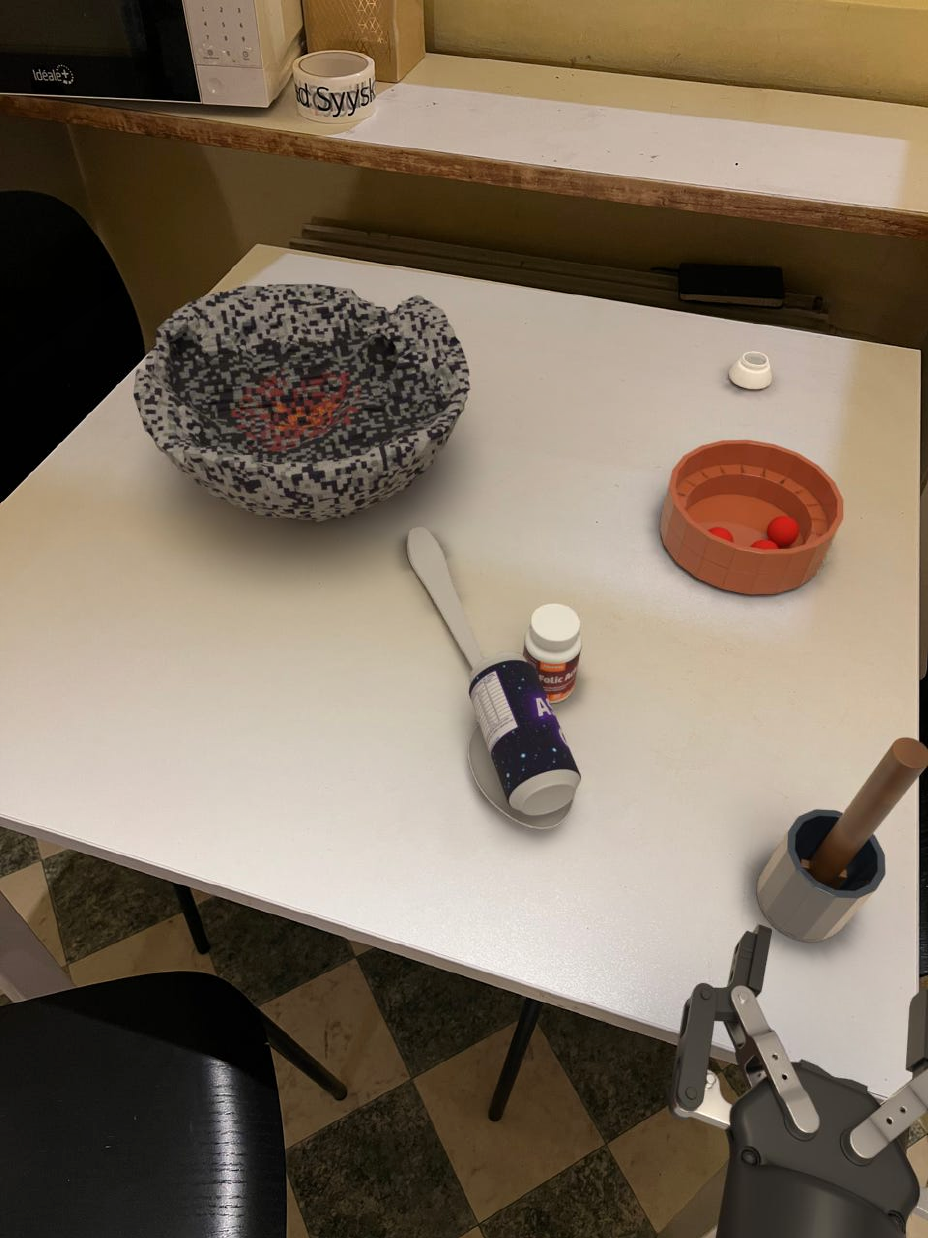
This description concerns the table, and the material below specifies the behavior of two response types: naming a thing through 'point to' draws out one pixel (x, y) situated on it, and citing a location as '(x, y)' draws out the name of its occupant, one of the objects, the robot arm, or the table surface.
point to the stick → (867, 811)
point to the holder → (815, 882)
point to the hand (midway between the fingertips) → (840, 962)
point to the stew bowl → (749, 515)
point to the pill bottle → (554, 648)
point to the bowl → (302, 396)
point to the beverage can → (522, 734)
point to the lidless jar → (751, 371)
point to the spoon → (439, 585)
